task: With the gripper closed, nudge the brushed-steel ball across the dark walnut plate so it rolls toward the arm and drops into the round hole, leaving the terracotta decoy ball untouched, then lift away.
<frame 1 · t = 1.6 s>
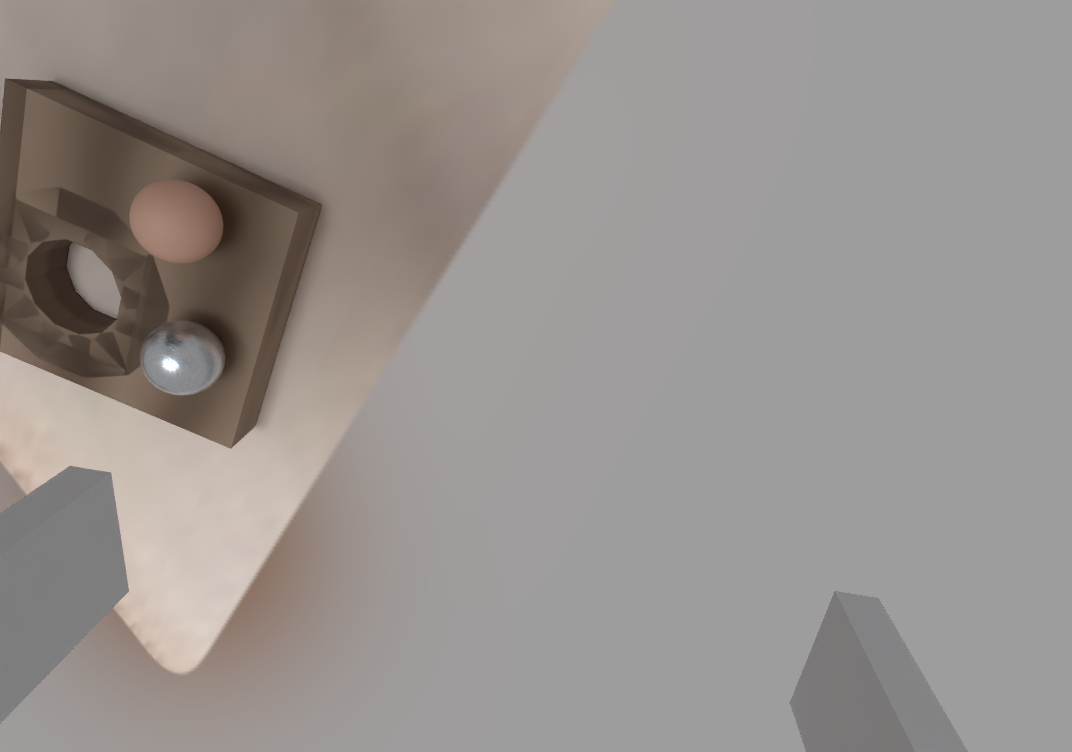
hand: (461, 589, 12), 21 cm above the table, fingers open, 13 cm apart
decoy: (177, 222, 26), point 4 cm above the table, touching deck
deck: (163, 270, 32), on the table
ball: (183, 358, 29), point 4 cm above the table, touching deck
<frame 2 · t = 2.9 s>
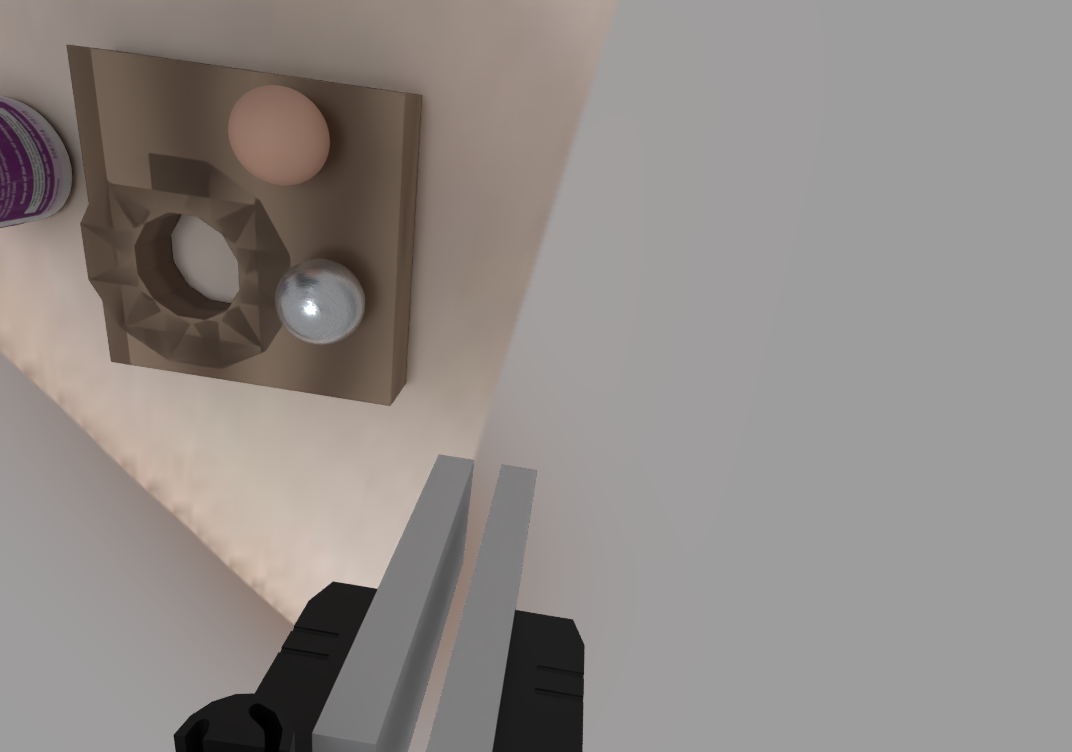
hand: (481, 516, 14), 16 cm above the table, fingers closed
decoy: (280, 136, 23), point 4 cm above the table, touching deck
pill bottle: (22, 158, 29), on the table
deck: (271, 231, 29), on the table
ball: (321, 301, 25), point 4 cm above the table, touching deck
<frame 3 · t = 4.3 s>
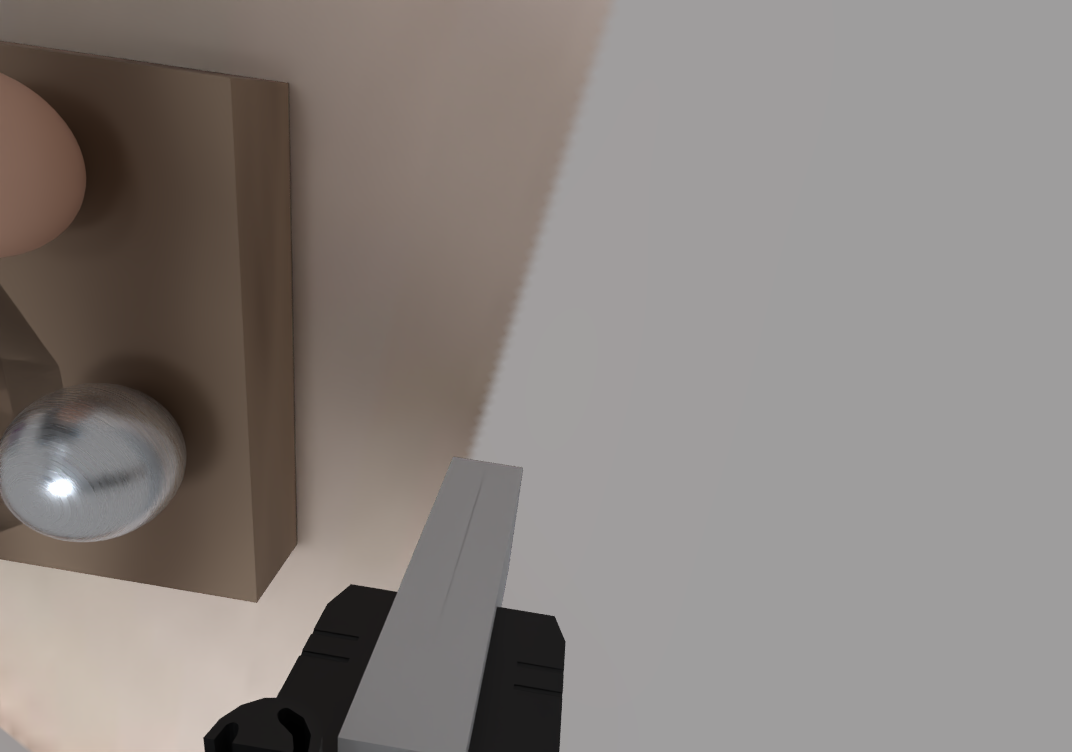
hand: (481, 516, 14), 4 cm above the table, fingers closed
deck: (57, 311, 17), on the table
ball: (97, 461, 14), point 4 cm above the table, touching deck
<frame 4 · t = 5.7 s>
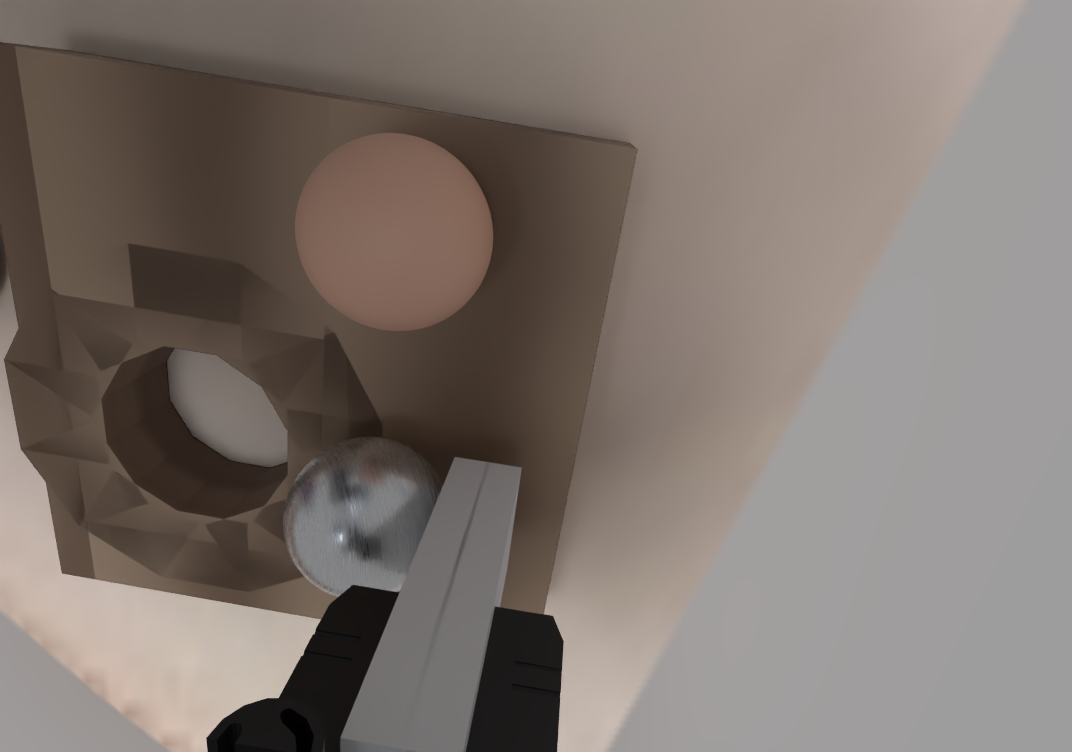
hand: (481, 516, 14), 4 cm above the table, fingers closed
decoy: (397, 235, 11), point 4 cm above the table, touching deck
deck: (337, 360, 17), on the table
ball: (368, 516, 14), point 4 cm above the table, tilted 55°, touching deck, gripper
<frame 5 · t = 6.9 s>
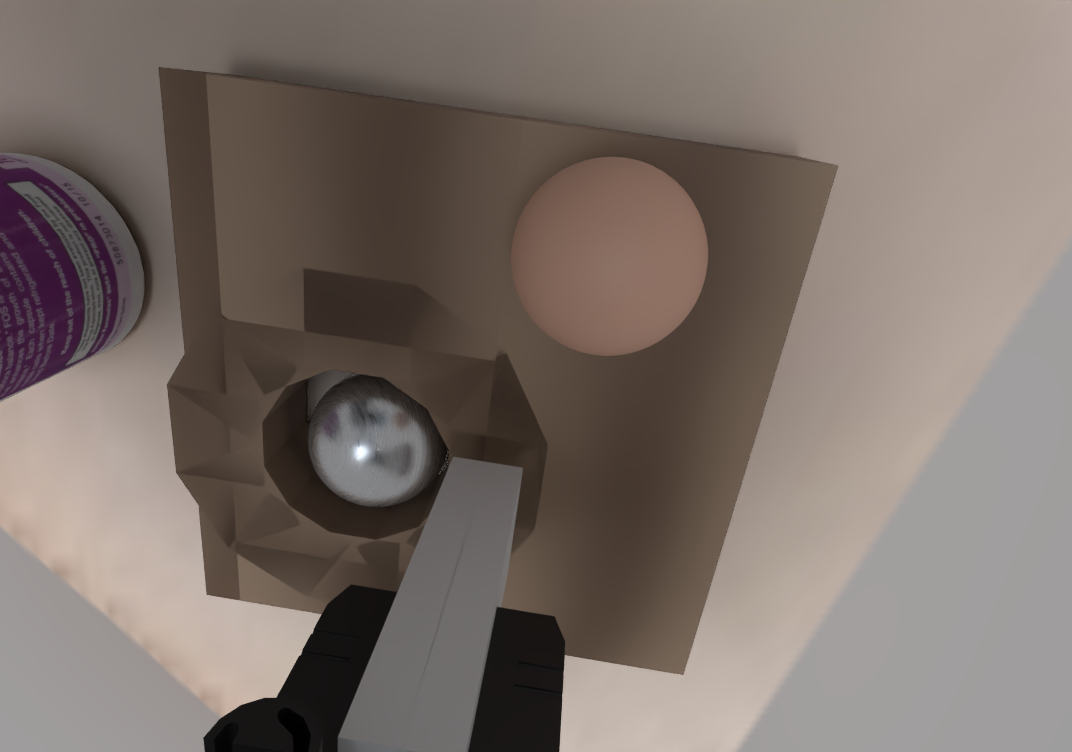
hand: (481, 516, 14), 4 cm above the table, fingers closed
decoy: (607, 259, 11), point 4 cm above the table, touching deck
pill bottle: (58, 255, 17), on the table
deck: (481, 378, 17), on the table
ball: (380, 437, 16), point 2 cm above the table, tilted 143°
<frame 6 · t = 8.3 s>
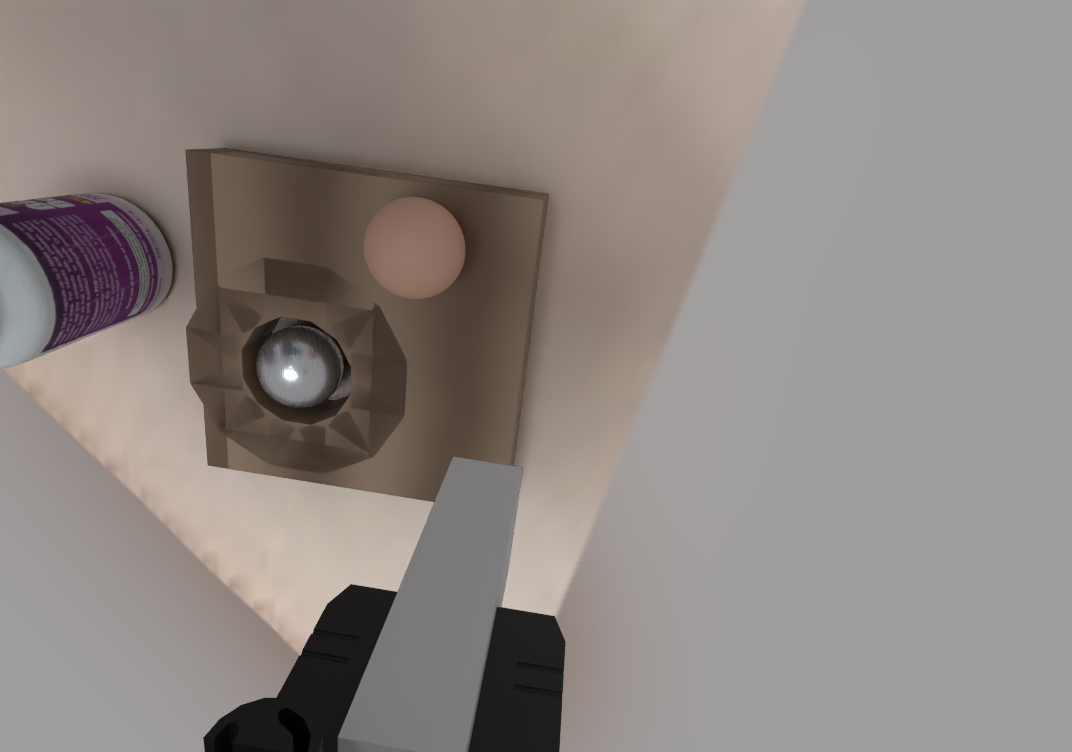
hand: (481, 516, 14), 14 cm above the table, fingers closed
decoy: (415, 248, 22), point 4 cm above the table, touching deck
pill bottle: (120, 254, 27), on the table
deck: (378, 328, 27), on the table
ball: (301, 366, 26), point 2 cm above the table, tilted 127°
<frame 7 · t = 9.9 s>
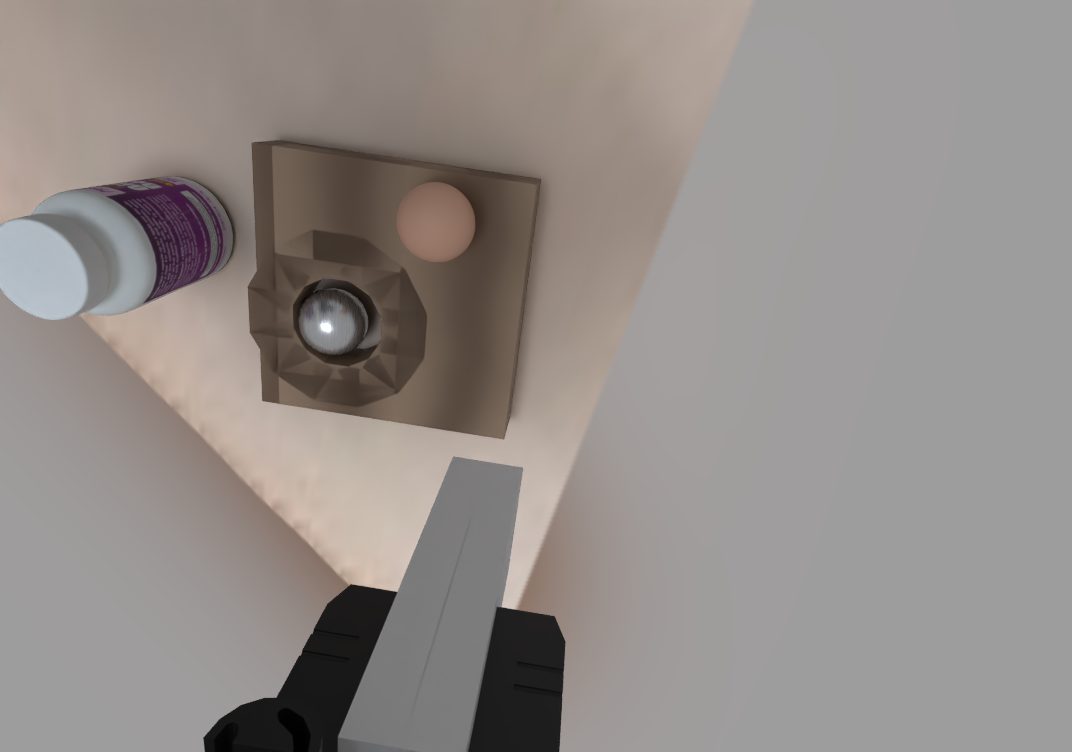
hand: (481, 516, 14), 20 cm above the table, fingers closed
decoy: (436, 222, 28), point 4 cm above the table, touching deck
pill bottle: (188, 227, 33), on the table
deck: (401, 289, 33), on the table
ball: (333, 321, 33), point 2 cm above the table, tilted 117°
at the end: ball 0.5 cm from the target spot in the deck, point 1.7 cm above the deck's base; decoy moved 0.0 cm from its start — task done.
